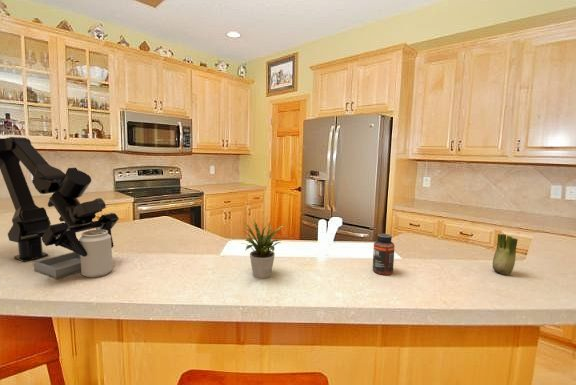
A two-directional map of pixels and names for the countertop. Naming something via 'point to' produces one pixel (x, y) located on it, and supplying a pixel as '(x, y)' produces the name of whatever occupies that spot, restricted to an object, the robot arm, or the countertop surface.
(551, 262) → the countertop surface
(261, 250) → the house plant
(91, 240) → the can
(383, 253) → the supplement bottle
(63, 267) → the tray
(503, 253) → the fennel bulb
